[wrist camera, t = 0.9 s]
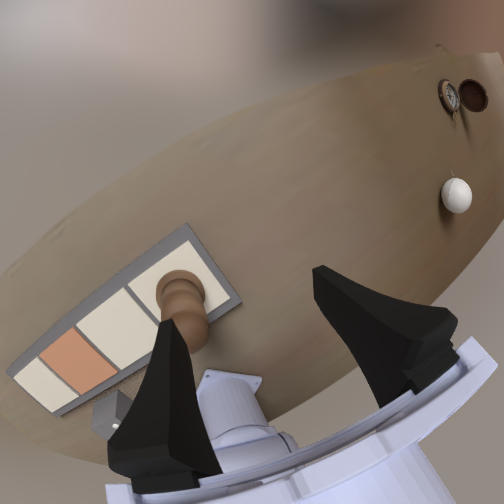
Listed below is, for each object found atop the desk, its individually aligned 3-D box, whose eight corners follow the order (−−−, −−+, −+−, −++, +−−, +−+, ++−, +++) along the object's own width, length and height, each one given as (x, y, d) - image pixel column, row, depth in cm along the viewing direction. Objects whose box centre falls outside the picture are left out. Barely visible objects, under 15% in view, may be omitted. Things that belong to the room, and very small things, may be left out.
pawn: (194, 318, 28) (209, 375, 19) (150, 306, 26) (147, 362, 18) (210, 278, 27) (232, 325, 19) (164, 263, 25) (165, 307, 17)
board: (57, 413, 27) (56, 419, 26) (7, 367, 23) (4, 373, 22) (239, 297, 30) (243, 302, 29) (187, 222, 26) (188, 224, 25)
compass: (433, 78, 30) (467, 73, 23) (453, 81, 32) (484, 78, 25) (444, 124, 33) (479, 124, 26) (463, 122, 34) (494, 123, 28)
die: (120, 421, 30) (119, 448, 25) (94, 402, 28) (90, 429, 24) (144, 409, 31) (145, 437, 26) (117, 389, 29) (115, 417, 24)
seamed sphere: (453, 202, 38) (478, 208, 33) (437, 215, 37) (464, 222, 32) (446, 160, 35) (473, 163, 30) (430, 170, 34) (458, 173, 29)
